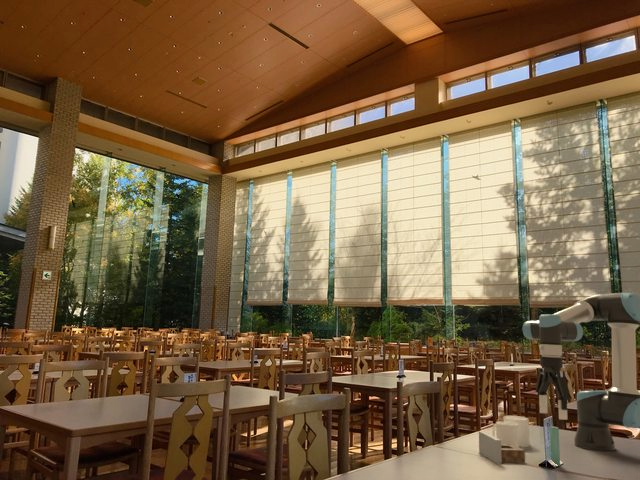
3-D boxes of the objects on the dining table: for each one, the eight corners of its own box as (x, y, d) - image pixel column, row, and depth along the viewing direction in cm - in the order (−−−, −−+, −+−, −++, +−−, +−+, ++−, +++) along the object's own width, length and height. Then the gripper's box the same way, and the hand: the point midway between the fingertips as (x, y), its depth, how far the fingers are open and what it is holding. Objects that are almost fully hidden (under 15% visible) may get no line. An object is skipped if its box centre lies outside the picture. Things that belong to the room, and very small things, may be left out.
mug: (501, 439, 226) (500, 413, 228) (525, 440, 224) (524, 415, 226) (506, 445, 213) (505, 419, 215) (532, 447, 211) (531, 420, 213)
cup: (507, 452, 200) (507, 425, 202) (485, 446, 211) (485, 420, 213) (523, 451, 204) (522, 424, 205) (500, 444, 214) (500, 419, 216)
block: (512, 455, 196) (512, 444, 197) (525, 461, 187) (524, 450, 187) (487, 454, 196) (487, 443, 196) (498, 461, 186) (498, 449, 187)
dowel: (557, 464, 185) (555, 426, 187) (561, 466, 182) (560, 428, 184) (549, 464, 185) (547, 426, 187) (553, 466, 182) (552, 428, 184)
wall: (484, 452, 199) (483, 431, 200) (501, 463, 183) (501, 440, 184) (479, 452, 198) (478, 431, 200) (496, 463, 183) (495, 440, 184)
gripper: (525, 354, 202) (526, 410, 198) (559, 357, 177) (561, 421, 173) (543, 355, 202) (545, 411, 198) (580, 358, 178) (582, 422, 174)
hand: (553, 416), depth 186 cm, fingers open, 13 cm apart
